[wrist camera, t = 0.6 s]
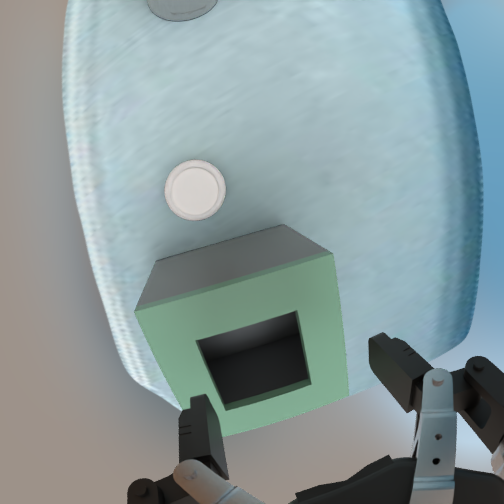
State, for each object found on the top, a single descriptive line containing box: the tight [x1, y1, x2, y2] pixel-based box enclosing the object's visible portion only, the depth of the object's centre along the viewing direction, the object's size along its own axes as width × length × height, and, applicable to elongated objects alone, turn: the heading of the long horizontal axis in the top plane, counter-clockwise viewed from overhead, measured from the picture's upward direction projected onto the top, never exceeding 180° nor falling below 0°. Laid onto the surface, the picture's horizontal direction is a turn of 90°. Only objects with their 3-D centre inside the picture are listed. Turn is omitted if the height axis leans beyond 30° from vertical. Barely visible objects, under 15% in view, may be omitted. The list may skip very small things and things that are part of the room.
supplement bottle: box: [164, 160, 226, 221], centre depth 29 cm, size 6×6×10 cm
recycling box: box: [134, 224, 349, 437], centre depth 31 cm, size 16×16×14 cm
